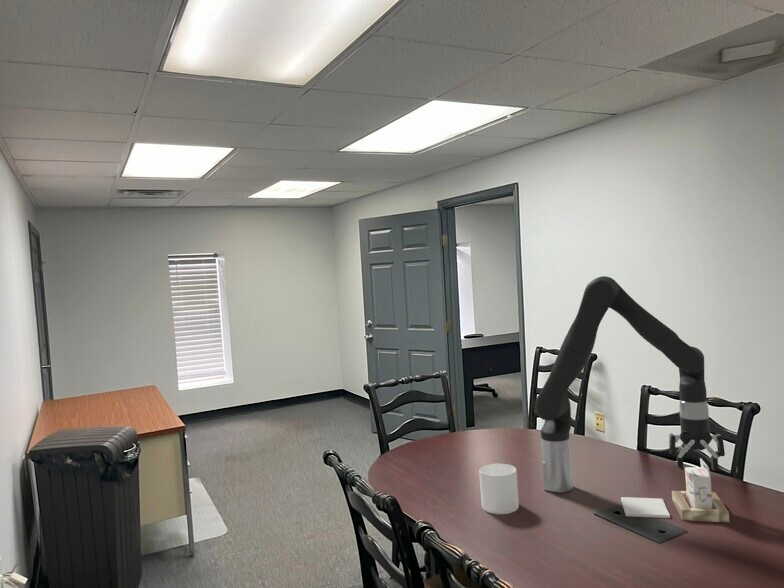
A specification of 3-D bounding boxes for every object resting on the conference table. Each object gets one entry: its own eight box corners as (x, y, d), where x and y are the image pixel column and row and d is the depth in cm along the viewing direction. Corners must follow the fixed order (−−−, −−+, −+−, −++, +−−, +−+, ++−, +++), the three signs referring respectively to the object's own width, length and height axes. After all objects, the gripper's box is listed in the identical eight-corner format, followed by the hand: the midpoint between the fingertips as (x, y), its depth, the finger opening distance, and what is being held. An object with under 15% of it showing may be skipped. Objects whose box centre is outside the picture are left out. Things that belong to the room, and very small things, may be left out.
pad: (625, 516, 167) (625, 513, 167) (621, 499, 179) (620, 497, 179) (670, 518, 164) (670, 515, 164) (662, 501, 175) (662, 498, 175)
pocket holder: (682, 520, 162) (681, 509, 162) (672, 500, 176) (671, 490, 175) (729, 522, 159) (728, 511, 159) (715, 501, 172) (714, 492, 172)
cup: (520, 500, 184) (518, 464, 183) (516, 515, 173) (514, 477, 172) (485, 498, 188) (482, 462, 187) (478, 513, 177) (476, 475, 176)
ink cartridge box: (685, 504, 172) (683, 457, 171) (703, 504, 171) (701, 456, 170) (694, 517, 164) (692, 467, 163) (713, 517, 163) (711, 467, 162)
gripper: (670, 418, 164) (673, 473, 165) (725, 418, 160) (728, 474, 161) (665, 412, 172) (668, 464, 172) (717, 411, 168) (721, 465, 168)
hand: (697, 469), depth 167 cm, fingers open, 8 cm apart
